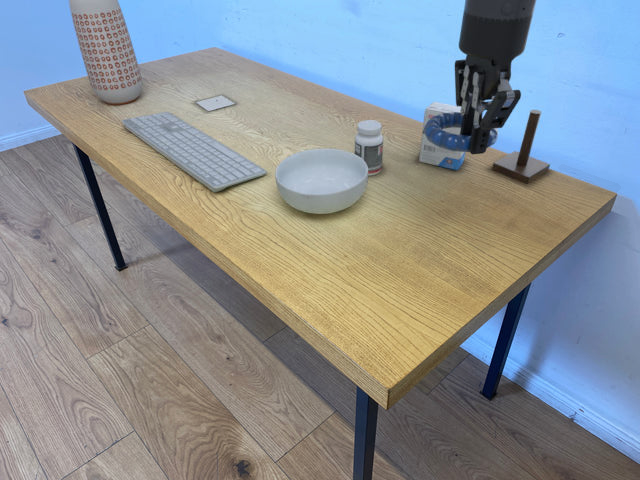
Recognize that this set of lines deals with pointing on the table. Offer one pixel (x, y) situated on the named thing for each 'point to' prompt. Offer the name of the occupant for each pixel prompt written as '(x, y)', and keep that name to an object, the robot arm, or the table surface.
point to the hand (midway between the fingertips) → (471, 146)
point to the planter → (106, 50)
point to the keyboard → (193, 150)
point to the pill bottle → (370, 145)
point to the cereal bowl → (322, 180)
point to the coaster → (215, 103)
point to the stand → (523, 156)
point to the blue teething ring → (448, 139)
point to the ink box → (433, 152)
